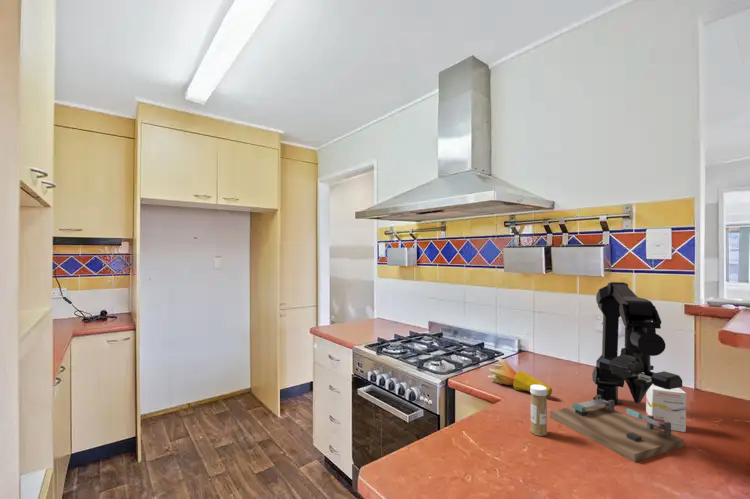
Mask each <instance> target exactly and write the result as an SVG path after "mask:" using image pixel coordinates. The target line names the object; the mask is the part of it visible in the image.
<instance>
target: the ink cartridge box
mask: <svg viewBox="0 0 750 499" xmlns="http://www.w3.org/2000/svg"><path fill="white" fill-rule="evenodd" d="M645 395H646V398H645V399H646V402H645V416H646V417H647V416H649V415H652V416H654V420H655V421H657V422H660V423H662V424H664V423H666V422H669V423H671V431H673V432H674V431H675V432H682V433H686V432H687V427H686V426H687V424H686V423H687V392H685V391H684V390H683V389H681V387H679V388H674V389H664V388H661V387H658V386H655V385H654V384H652V385H651V386H650V388H649V389H648V390H647V392H646V394H645ZM654 427H656V426H654ZM656 428H658V429H660V428H659V427H656Z"/></svg>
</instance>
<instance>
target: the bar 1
mask: <svg viewBox="0 0 750 499" xmlns="http://www.w3.org/2000/svg"><path fill="white" fill-rule="evenodd" d="M572 406H573V408H574V409H576V410H578V411H580V412H586V411H589V410H594V409H598V408H603V407H608V401H605V400H603V399H597V400H595V399H592V400H588V401H583V402H574V403H572Z"/></svg>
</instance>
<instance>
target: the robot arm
mask: <svg viewBox="0 0 750 499" xmlns="http://www.w3.org/2000/svg"><path fill="white" fill-rule="evenodd" d="M595 299H596V304H597V307H598V309H599V310H600V313H602V315H603V316H602V338H601V339H602V340H601V341H602V344H601V354H600V356H599V357H598V358H597V360H596V362H595V366H594V368H593V371H592V374H591V375H592V382H593V383H594V385H596V395H601V399H603V400H605V401H608V400H614V406H615V405H621V404H623V401H622V400H619V388H624V386H625V382H626V384H627V387H628V389H629V392H630V394H631V396H632V399H633V401H634V403H635V404H641V402H642V400H643V399H644V397H645V395H646V392H647V390H648V389H649V388H650V386H651V385H652V384H654V385H655V386H658V387H661V388H664V389H674V388H682V387H683V379H682V378H681V376H680V375H679V374H676V373H672V372H668V371H665V370H664V371H660V372H659V371H658V372H654V371H653V370H654V367H655V366H654V365H652V364H651V357H655V356H656V357H657V356H659V355H661V354H662V353H664V351H665V349H666V342H665V339H664V338H663V337H662V336H661V335H659V334H657V333H656V331H657V329H658V330H659V329H661V328H662V327H661V324H662V320H661V318H660V315H659V312H658V310H657V308H656V306H655V305H654V304H653V302H652V301H651V300H649V299H647V298H643V297H639V296H638V295H636V294H635V292H634V291H633V290H631V289H630V287H629V284H628V283H627V282H624V281H623V282H621V281H620V282H618V281H611V282H608V283H607V285H605V286H604V287H603V286H602V287H601V288H599V289H598V291H597V293H596V296H595ZM620 318H621V320H622V323H623V325H624V347H621V349H620V354H619V353H618V352H619V326H620V325H619V324H620V323H619V321H620ZM618 354H619V355H618ZM592 400H595V396H593V397H592Z"/></svg>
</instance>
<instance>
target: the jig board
mask: <svg viewBox="0 0 750 499" xmlns="http://www.w3.org/2000/svg"><path fill="white" fill-rule="evenodd" d="M594 397H595V399H594V400H597V399H601V395H597V394H595V396H594ZM549 413H550V415H549V416H550V417H549V418H551V419H552V420H554V421H556V422H558V423H560V424H562V425H564V426H566V427H567V428H570V429H571V430H573V431H575V432H577V433H578V434H581V435H583V436H585V437H587V438H588V439H589V440H592V441H594V442H595V443H598V444H599V445H601V446H603V447H604V448H605V447H606V448H607V449H609V450H611V451H613V452H614V453H616V454H618V455H620V456H622V457H624V458H626V459H628V460H630V461H631V462H633V463H636V462H639V461H643V460H646V459H648V458H652V457H655V456H658V455H661V454H665V453H668V452H671V451H674V450H677V449H680V448H683V447H684V446H685V443H684V442H685V440H684V438H681V437H679V436H677V435H675V434H672V430H671V423H669V422H666V423H664V430H663V429H661V428H656V427H654V425H652V424H650V423H648V422H645V421H644V422H643V420H639V419H638V418H637V419H636V418H635V417H633V416H631V415H628V414H624V413H622V412H619V411H618V410H615V405H614V400H608V407H603V408H598V409H594V410H589V411H586V412H580V411H578V410H576V409H574V408H573V405H572V406H569V407H564V408H558V409H553V410H551V411H550V412H549ZM647 417H648V418H651V419H653V420H654V416H652V415H649V416H647Z"/></svg>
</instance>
